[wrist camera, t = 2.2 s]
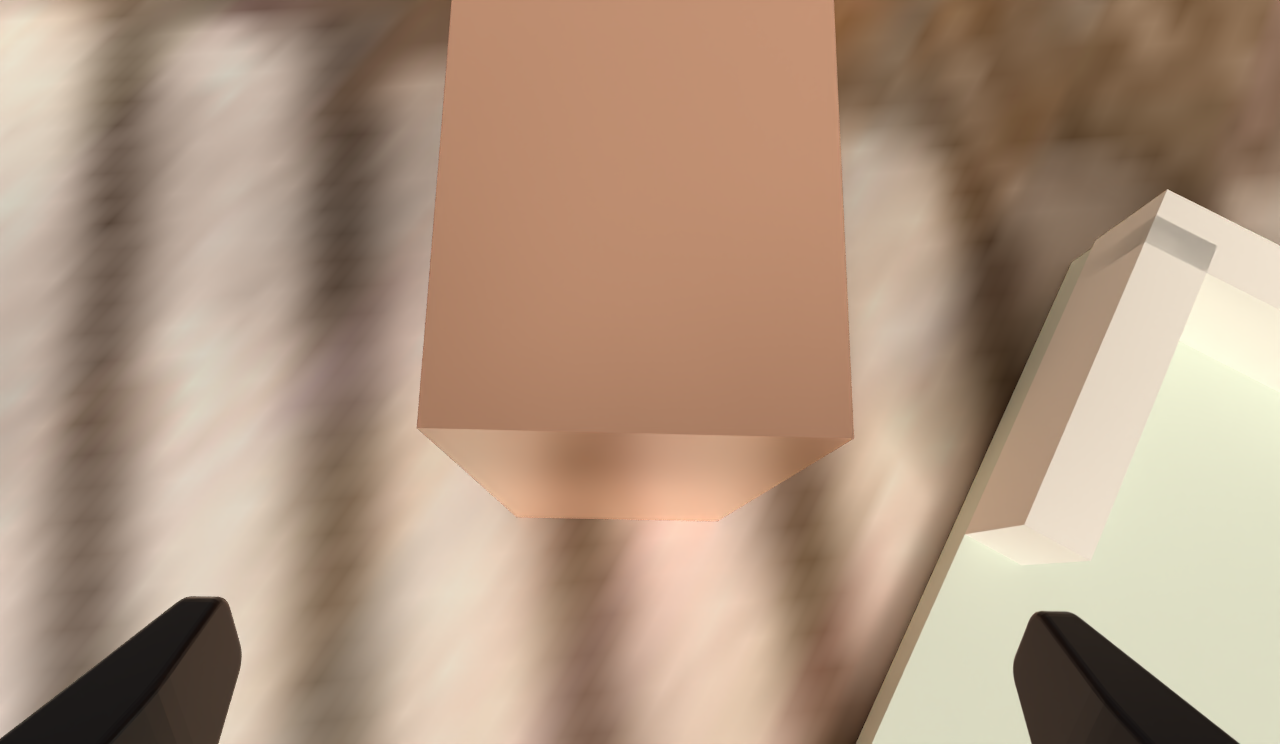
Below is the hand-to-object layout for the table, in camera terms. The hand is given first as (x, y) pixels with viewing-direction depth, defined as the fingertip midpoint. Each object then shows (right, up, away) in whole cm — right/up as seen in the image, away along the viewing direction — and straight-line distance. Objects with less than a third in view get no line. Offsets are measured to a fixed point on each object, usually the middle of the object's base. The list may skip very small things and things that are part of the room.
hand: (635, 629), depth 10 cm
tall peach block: (0, +2, +12) cm, 13 cm away
